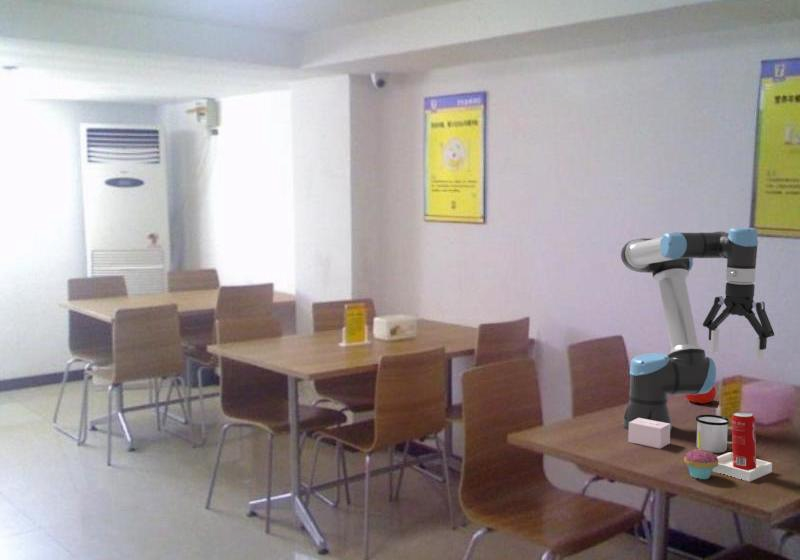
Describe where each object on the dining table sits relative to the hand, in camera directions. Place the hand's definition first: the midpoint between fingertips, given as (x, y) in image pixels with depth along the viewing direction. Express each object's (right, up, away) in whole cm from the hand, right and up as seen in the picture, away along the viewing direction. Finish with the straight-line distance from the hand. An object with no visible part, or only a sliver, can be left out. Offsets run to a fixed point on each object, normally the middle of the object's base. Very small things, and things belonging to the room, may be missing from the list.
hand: (735, 356), depth 228 cm
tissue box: (-21, -27, +13) cm, 37 cm away
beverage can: (-4, -29, -14) cm, 32 cm away
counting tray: (-4, -30, -13) cm, 33 cm away
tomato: (+13, -23, +61) cm, 67 cm away
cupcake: (-16, -30, -17) cm, 38 cm away
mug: (-3, -28, +6) cm, 29 cm away
